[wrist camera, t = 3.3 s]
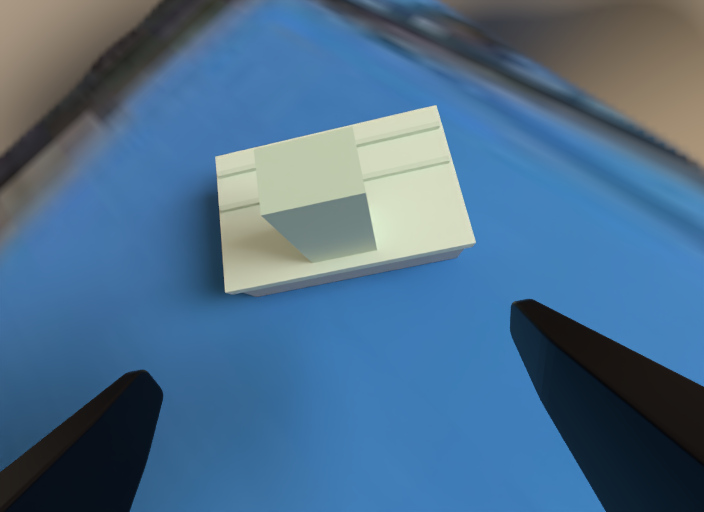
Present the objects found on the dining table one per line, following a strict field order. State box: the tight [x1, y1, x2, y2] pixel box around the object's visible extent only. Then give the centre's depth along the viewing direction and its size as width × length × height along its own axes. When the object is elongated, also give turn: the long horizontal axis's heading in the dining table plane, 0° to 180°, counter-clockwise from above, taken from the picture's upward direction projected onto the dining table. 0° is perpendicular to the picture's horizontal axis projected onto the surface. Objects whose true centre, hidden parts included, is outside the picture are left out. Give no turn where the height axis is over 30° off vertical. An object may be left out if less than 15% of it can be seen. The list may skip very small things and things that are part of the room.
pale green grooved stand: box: [216, 105, 476, 295], centre depth 15 cm, size 8×13×8 cm, turn 100°
